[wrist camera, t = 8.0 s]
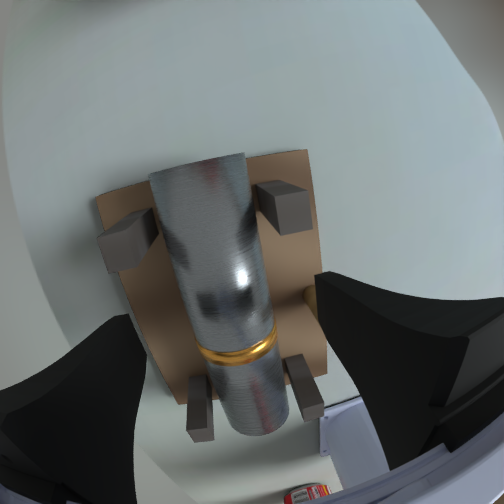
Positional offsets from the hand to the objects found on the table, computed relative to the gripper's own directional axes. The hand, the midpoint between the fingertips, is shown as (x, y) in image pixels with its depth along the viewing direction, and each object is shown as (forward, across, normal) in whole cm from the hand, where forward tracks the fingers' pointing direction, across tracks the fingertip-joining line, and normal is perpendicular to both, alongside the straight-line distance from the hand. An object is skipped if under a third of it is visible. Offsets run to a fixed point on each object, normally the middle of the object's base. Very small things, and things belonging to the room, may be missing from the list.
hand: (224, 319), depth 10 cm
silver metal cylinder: (+5, 0, +2) cm, 5 cm away
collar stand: (+6, 0, +2) cm, 6 cm away
